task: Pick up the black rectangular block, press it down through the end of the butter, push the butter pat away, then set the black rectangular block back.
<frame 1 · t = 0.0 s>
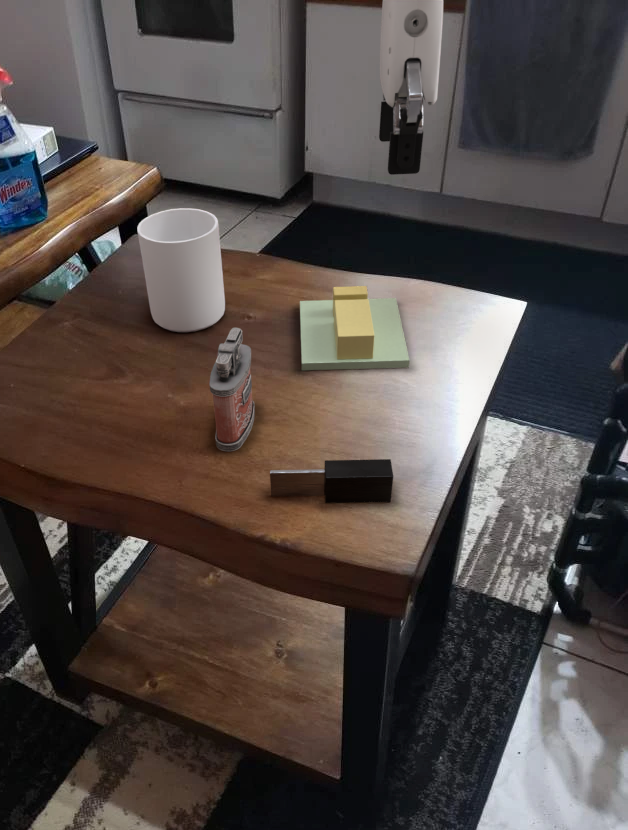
hand: (398, 155, 81), 18 cm above the table, tool pointing down, fingers open, 9 cm apart
butter plate: (350, 336, 89), on the table
butter: (352, 340, 87), point 1 cm above the table, touching butter plate
mug: (182, 313, 96), on the table
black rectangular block: (356, 494, 70), on the table
butter pat: (349, 312, 91), point 1 cm above the table, touching butter plate
lighter: (236, 428, 78), on the table
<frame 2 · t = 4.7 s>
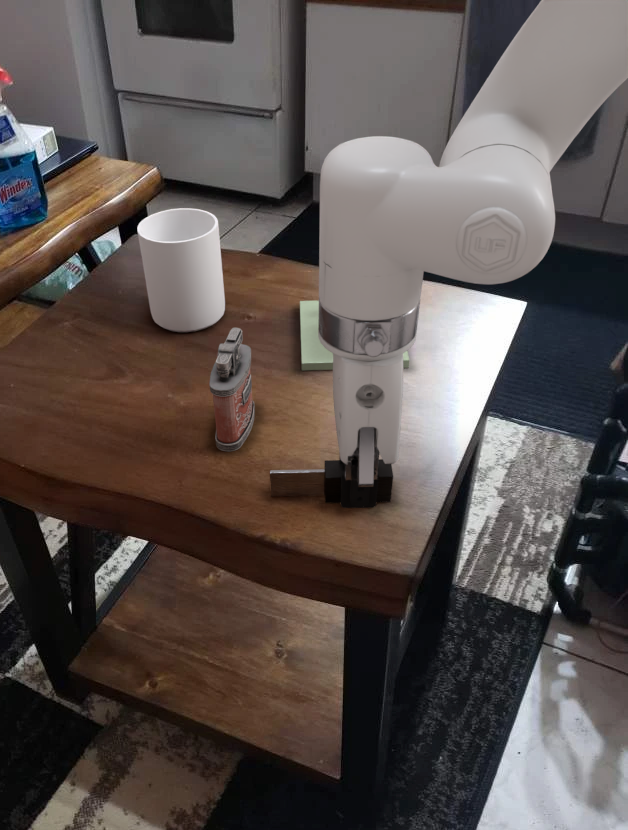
hand: (356, 492, 70), 0 cm above the table, tool pointing down, fingers closed on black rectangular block, 2 cm apart
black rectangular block: (356, 494, 70), on the table, touching gripper
everything else where it was.
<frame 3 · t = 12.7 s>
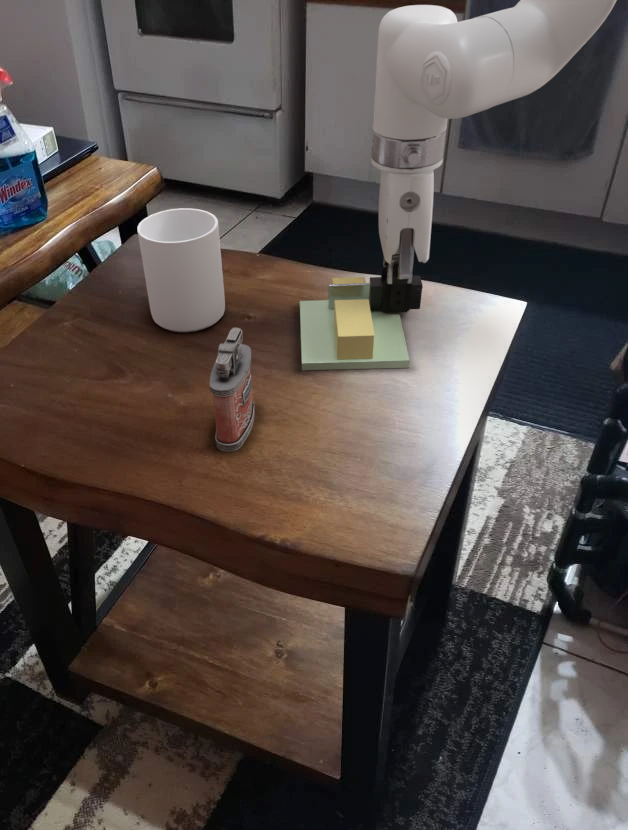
hand: (394, 303, 91), 1 cm above the table, tool pointing down, fingers closed on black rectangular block, 2 cm apart
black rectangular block: (393, 305, 92), point 1 cm above the table, touching butter pat, gripper
butter pat: (347, 303, 93), point 1 cm above the table, touching butter plate, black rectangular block
everything else where it was.
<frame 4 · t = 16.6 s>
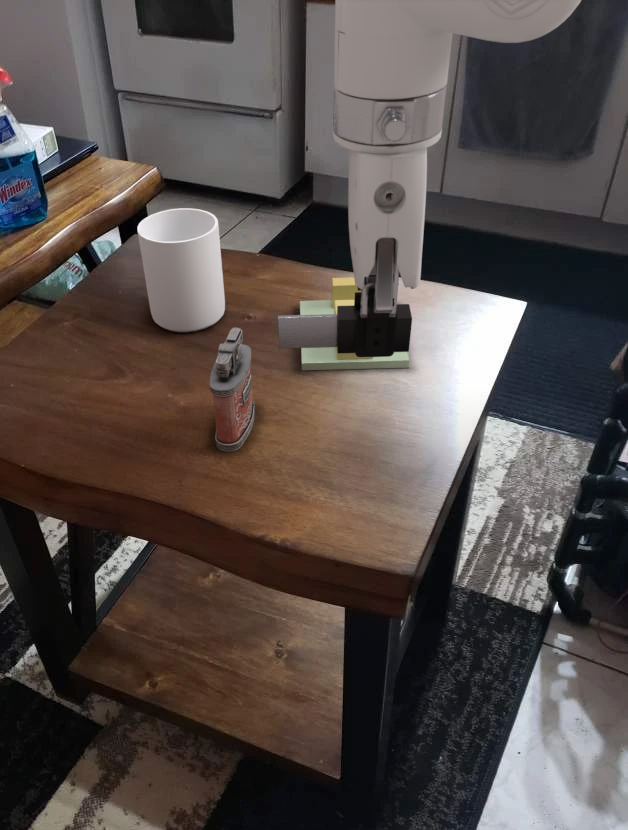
hand: (372, 343, 64), 13 cm above the table, tool pointing down, fingers closed on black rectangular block, 2 cm apart
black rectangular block: (371, 345, 64), point 13 cm above the table, touching gripper
butter pat: (347, 303, 93), point 1 cm above the table, touching butter plate
everything else where it was.
when the fingers open (0 cm above the table, at t = 19.6 s): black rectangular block stays where it is, on the table.
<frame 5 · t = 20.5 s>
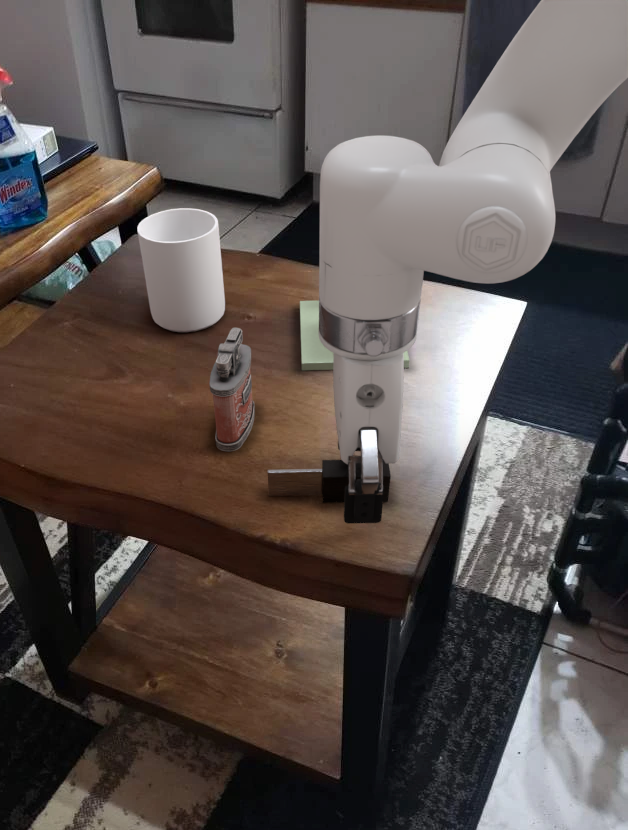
hand: (358, 483, 69), 1 cm above the table, tool pointing down, fingers open, 9 cm apart
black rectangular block: (354, 493, 70), on the table
everything else where it was.
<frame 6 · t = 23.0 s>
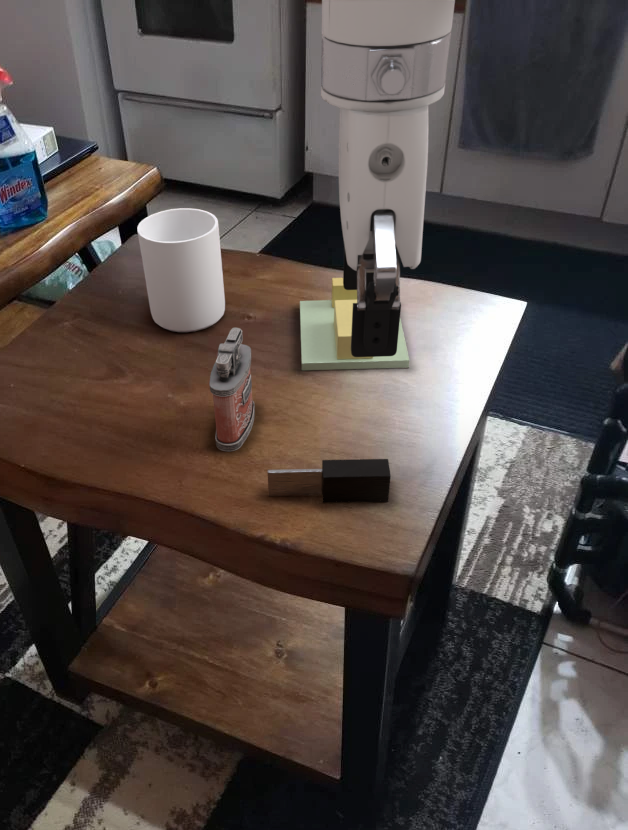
hand: (367, 319, 57), 18 cm above the table, tool pointing down, fingers open, 9 cm apart
nothing on the table moved.
at the end: butter pat 0.2 cm from the target spot on the butter plate, point 1.0 cm above the butter plate's base; butter moved 0.0 cm from its start; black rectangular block inside the target area (0.1 cm from its centre), on the table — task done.
